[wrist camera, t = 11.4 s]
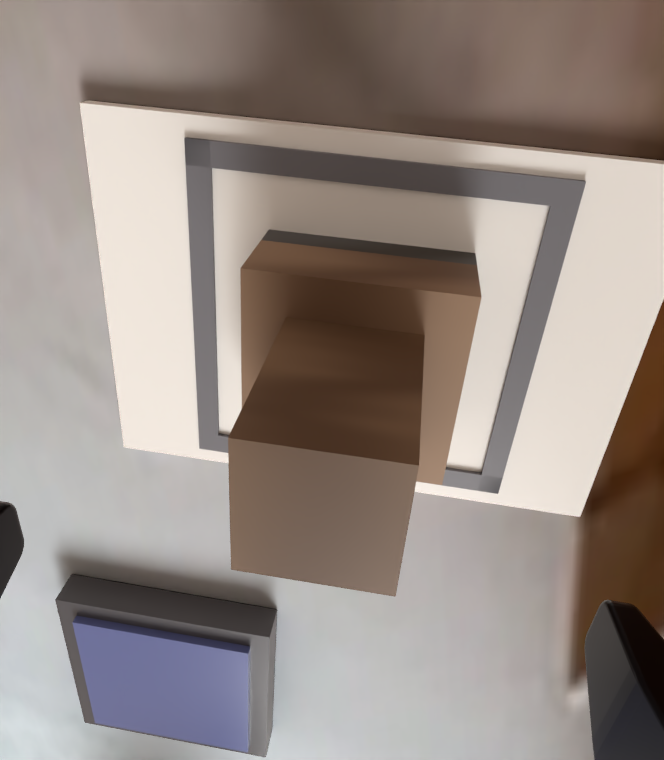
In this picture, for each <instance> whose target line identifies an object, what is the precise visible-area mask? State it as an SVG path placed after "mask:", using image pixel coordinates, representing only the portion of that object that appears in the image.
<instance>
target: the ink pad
mask: <svg viewBox="0 0 664 760" xmlns="http://www.w3.org/2000/svg"><path fill="white" fill-rule="evenodd" d="M56 604H57V608H58V613H59V617H60V621H61V625H62V629H63V633H64V638H65V642H66V646H67V650H68V654H69V658H70V663H71V667H72V671H73V675H74V679H75V683H76V688H77V692H78V696H79V700H80V704H81V708H82V713H83V717H84V721H85V723H90V724H96V725H101V726H106V727H111V728H116V729H122V730H127V731H132V732H137V733H142V734H147V735H153V736H158V737H163V738H168V739H173V740H179V741H184V742H189V743H194V744H199V745H204V746H210V747H215V748H220V749H225V750H230V751H236V752H241V753H246V754H251V755H256V756H261V757H266V755H267V750H268V746H269V741H270V737H271V733H272V724H273V699H274V674H275V650H276V625H277V610H276V609H270V608H264V607H258V606H252V605H247V604H241V603H235V602H229V601H223V600H218V599H212V598H206V597H200V596H194V595H189V594H183V593H177V592H171V591H165V590H160V589H154V588H148V587H142V586H136V585H131V584H125V583H119V582H113V581H107V580H101V579H96V578H90V577H84V576H78V575H71V576H70V578H69V579H68V581H67V582H66V584H65V586H64V587H63V589H62V590H61V592H60V593H59V595H58V597H57V598H56Z"/></svg>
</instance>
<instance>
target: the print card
mask: <svg viewBox="0 0 664 760" xmlns="http://www.w3.org/2000/svg"><path fill="white" fill-rule="evenodd" d="M80 110H81V117H82V125H83V133H84V141H85V149H86V156H87V164H88V172H89V180H90V187H91V195H92V203H93V211H94V218H95V226H96V234H97V242H98V249H99V257H100V265H101V273H102V281H103V288H104V296H105V304H106V312H107V319H108V327H109V335H110V343H111V350H112V358H113V366H114V374H115V382H116V389H117V397H118V405H119V413H120V420H121V428H122V436H123V444H124V447H126V448H133V449H139V450H146V451H152V452H159V453H165V454H172V455H178V456H185V457H191V458H198V459H204V460H211V461H217V462H224V463H229V458H228V437H229V435H230V433H231V431H232V428H233V426H234V424H235V422H236V420H237V418H238V416H239V414H240V412H241V410H242V383H241V279H240V268H241V267H242V265H243V264H244V263H245V261H246V260H247V259H248V257H249V256H250V254H251V253H252V252H253V250H254V249H255V248H256V246H257V245H258V244H259V242H260V241H261V240H262V238H263V237H264V235H265V234H266V233H267V231H268V230H269V229H270V230H279V231H287V232H296V233H305V234H313V235H322V236H331V237H339V238H348V239H357V240H366V241H374V242H383V243H392V244H400V245H409V246H418V247H426V248H435V249H444V250H453V251H461V252H470V253H475V254H476V261H477V268H478V275H479V282H480V290H481V297H482V298H481V302H480V307H479V312H478V317H477V321H476V326H475V331H474V336H473V341H472V345H471V350H470V355H469V360H468V364H467V369H466V374H465V379H464V383H463V388H462V393H461V398H460V402H459V407H458V412H457V417H456V421H455V426H454V431H453V436H452V440H451V445H450V450H449V455H448V459H447V464H446V469H445V474H444V478H443V483H442V485H437V484H430V483H423V482H417V481H416V486H415V491H414V492H420V493H427V494H433V495H440V496H446V497H453V498H459V499H466V500H472V501H479V502H485V503H492V504H498V505H505V506H512V507H518V508H525V509H531V510H538V511H544V512H551V513H557V514H564V515H570V516H577V517H580V516H581V513H582V510H583V508H584V505H585V503H586V500H587V497H588V495H589V492H590V490H591V487H592V484H593V482H594V479H595V476H596V474H597V471H598V469H599V466H600V463H601V461H602V458H603V456H604V453H605V450H606V448H607V445H608V443H609V440H610V437H611V435H612V432H613V429H614V427H615V424H616V422H617V419H618V416H619V414H620V411H621V409H622V406H623V403H624V401H625V398H626V396H627V393H628V390H629V388H630V385H631V382H632V380H633V377H634V375H635V372H636V369H637V367H638V364H639V362H640V359H641V356H642V354H643V351H644V349H645V346H646V343H647V341H648V338H649V335H650V333H651V330H652V328H653V325H654V322H655V320H656V317H657V315H658V312H659V309H660V307H661V304H662V302H663V299H664V161H662V160H653V159H643V158H633V157H624V156H614V155H605V154H595V153H586V152H576V151H567V150H557V149H547V148H538V147H528V146H519V145H509V144H500V143H490V142H481V141H471V140H461V139H452V138H442V137H433V136H423V135H414V134H404V133H395V132H385V131H375V130H366V129H356V128H347V127H337V126H328V125H318V124H309V123H299V122H289V121H280V120H270V119H261V118H251V117H242V116H232V115H223V114H213V113H203V112H194V111H184V110H175V109H165V108H156V107H146V106H137V105H127V104H117V103H108V102H98V101H89V100H88V101H84V102H81V103H80Z"/></svg>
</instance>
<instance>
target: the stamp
mask: <svg viewBox="0 0 664 760" xmlns="http://www.w3.org/2000/svg"><path fill="white" fill-rule="evenodd" d="M240 279H241V383H242V410H241V412H240V414H239V416H238V418H237V420H236V422H235V424H234V426H233V428H232V431H231V433H230V435H229V437H228V458H229V500H230V541H231V570H237V571H243V572H249V573H255V574H262V575H268V576H274V577H280V578H286V579H292V580H298V581H304V582H310V583H316V584H322V585H328V586H335V587H341V588H347V589H353V590H359V591H365V592H371V593H377V594H383V595H389V596H396V590H397V585H398V579H399V574H400V568H401V563H402V557H403V552H404V546H405V541H406V535H407V530H408V524H409V519H410V513H411V508H412V502H413V497H414V491H415V486H416V481H417V482H423V483H430V484H437V485H442V483H443V478H444V474H445V469H446V464H447V459H448V455H449V450H450V445H451V440H452V436H453V431H454V426H455V421H456V417H457V412H458V407H459V402H460V398H461V393H462V388H463V383H464V379H465V374H466V369H467V364H468V360H469V355H470V350H471V345H472V341H473V336H474V331H475V326H476V321H477V317H478V312H479V307H480V302H481V298H482V297H481V290H480V282H479V275H478V268H477V261H476V254H475V253H470V252H461V251H453V250H444V249H435V248H426V247H418V246H409V245H400V244H392V243H383V242H374V241H366V240H357V239H348V238H339V237H331V236H322V235H313V234H305V233H296V232H287V231H279V230H270V229H269V230H268V231H267V233H266V234H265V235H264V237H263V238H262V240H261V241H260V242H259V244H258V245H257V246H256V248H255V249H254V250H253V252H252V253H251V254H250V256H249V257H248V259H247V260H246V261H245V263H244V264H243V265H242V267H241V268H240Z"/></svg>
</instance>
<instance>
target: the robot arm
mask: <svg viewBox="0 0 664 760" xmlns="http://www.w3.org/2000/svg"><path fill="white" fill-rule="evenodd" d="M23 547H24V538H23V534H22V530H21V526H20V522H19V519H18V515H17V511H16V508H15V507H14V506H13V505H12V504H11V503H8V502H2V501H0V598H1V596H2V594H3V592H4V590H5V588H6V586H7V584H8V582H9V579H10V577H11V575H12V573H13V571H14V569H15V567H16V565H17V563H18V561H19V559H20V557H21V555H22V552H23ZM585 659H586V671H587V683H588V694H589V706H590V718H591V730H592V741H593V751H594V759H595V760H664V639H663V638H662V637H661V636H660V635H659V633H658V632H657V631H656V630H655V629H654V627H653V626H652V625H651V624H650V623H649V621H648V620H647V619H646V618H645V617H644V616H643V614H642V613H641V612H640V611H639V610H638V609H637V608H636V607H635V606H634V605H632V604H629V603H623V602H617V601H611V600H605V601H603V602H602V603H601V605H600V606H599V608H598V611H597V613H596V615H595V617H594V619H593V622H592V624H591V626H590V628H589V630H588V633H587V635H586V640H585Z"/></svg>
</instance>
